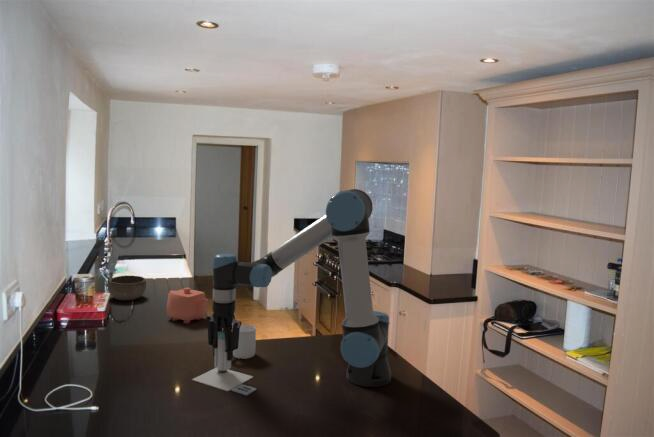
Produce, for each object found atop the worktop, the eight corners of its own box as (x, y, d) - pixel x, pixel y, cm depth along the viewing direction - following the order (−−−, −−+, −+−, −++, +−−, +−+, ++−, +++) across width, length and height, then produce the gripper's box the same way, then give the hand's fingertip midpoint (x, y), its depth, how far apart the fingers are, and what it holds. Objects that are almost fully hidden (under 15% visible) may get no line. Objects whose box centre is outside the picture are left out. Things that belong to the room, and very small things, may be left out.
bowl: (138, 303, 257) (138, 283, 255) (102, 302, 257) (102, 282, 256) (151, 294, 274) (151, 275, 273) (116, 293, 274) (116, 274, 273)
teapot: (216, 320, 236) (216, 289, 234) (196, 327, 225) (196, 295, 223) (179, 311, 246) (180, 282, 245) (158, 318, 235) (159, 287, 234)
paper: (253, 377, 176) (253, 376, 176) (228, 391, 165) (228, 390, 165) (218, 367, 184) (218, 366, 184) (191, 380, 172) (191, 379, 172)
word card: (256, 389, 167) (256, 388, 167) (246, 395, 163) (246, 394, 163) (241, 385, 170) (241, 383, 170) (231, 390, 166) (231, 389, 166)
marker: (230, 370, 180) (231, 331, 179) (223, 374, 177) (224, 334, 175) (221, 368, 182) (222, 329, 181) (214, 372, 179) (215, 331, 177)
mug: (232, 363, 188) (233, 335, 187) (219, 356, 194) (220, 329, 192) (259, 355, 196) (260, 328, 195) (246, 349, 202) (247, 323, 201)
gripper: (250, 301, 176) (249, 369, 179) (212, 293, 184) (211, 358, 187) (236, 306, 170) (234, 376, 172) (197, 298, 177) (196, 365, 180)
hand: (222, 367), depth 179 cm, fingers closed on marker, 3 cm apart
